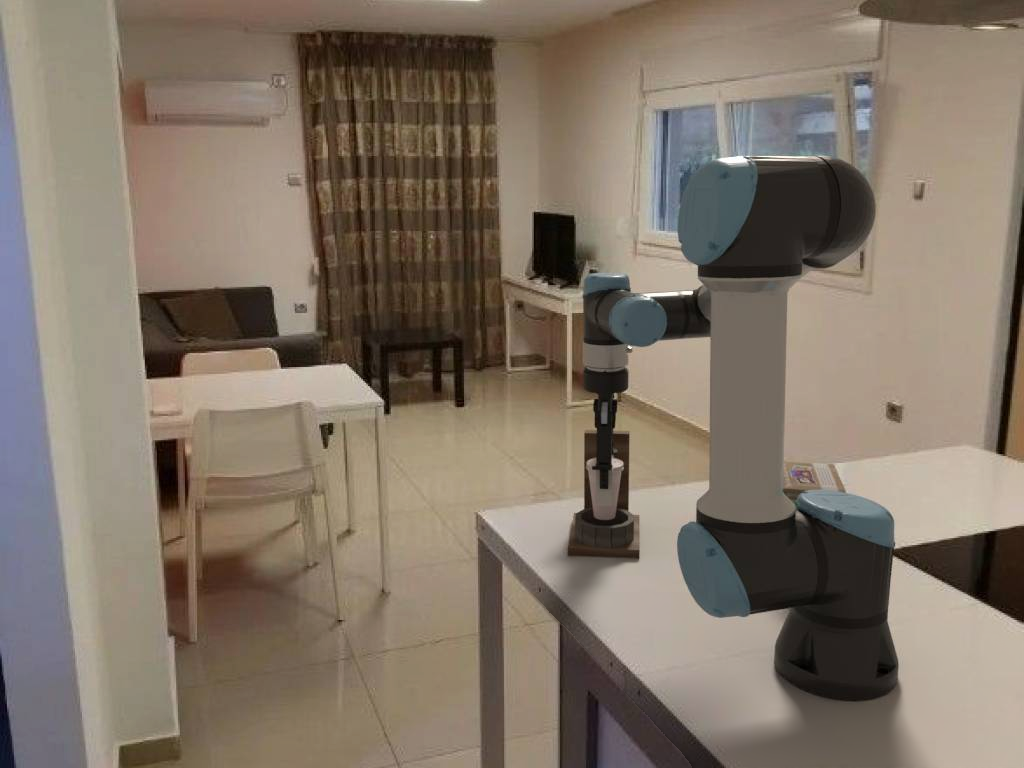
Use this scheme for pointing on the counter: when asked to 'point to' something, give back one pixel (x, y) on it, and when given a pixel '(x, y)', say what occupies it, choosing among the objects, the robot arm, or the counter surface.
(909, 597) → the counter surface
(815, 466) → the tea box
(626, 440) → the cup bracket
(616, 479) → the smoothie
